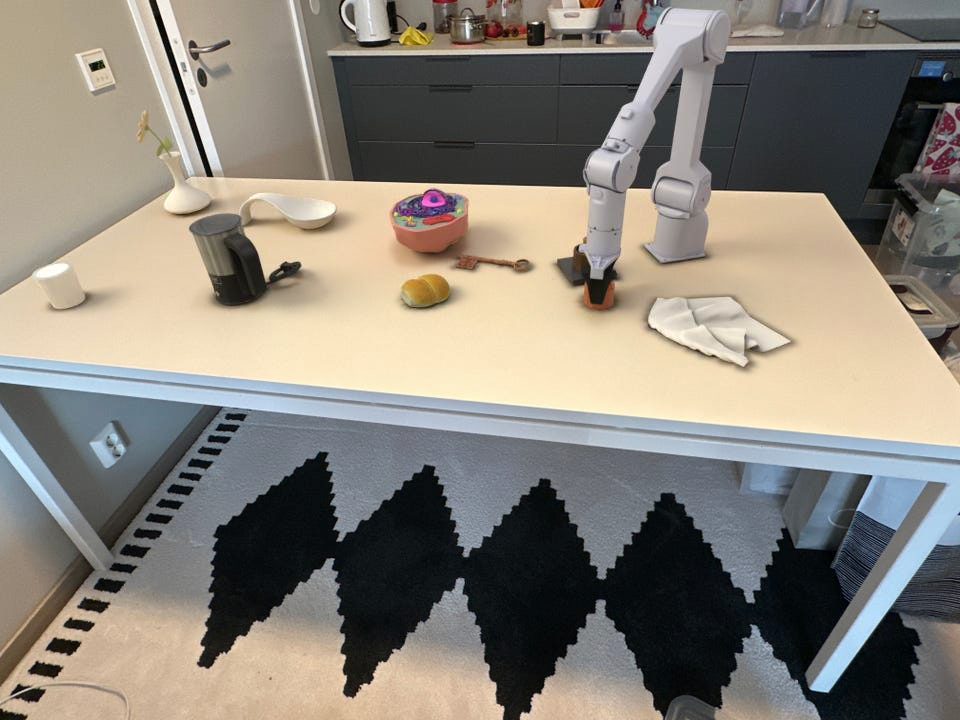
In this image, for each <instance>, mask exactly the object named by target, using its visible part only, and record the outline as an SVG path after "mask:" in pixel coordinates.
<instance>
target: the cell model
mask: <svg viewBox="0 0 960 720" xmlns="http://www.w3.org/2000/svg"><path fill="white" fill-rule="evenodd" d="M469 202H470V200H469V198H468V197H466V196H465V195H463V194H460V193H457V192H444V191H443V190H442V189H439V188H435V187H433V188H432V187H431V188H429V189H427V190H425V191H424V192H423V193H418V194H417V193H416V194H412V195H409V196H407V197H405V198H403V199H401V200H400V201H398V202H395V203H394V204H393V205H392V207H391V209H390V210H389V215H388V216H389V220H390V224H391V226H392V227H391V228H392V229H393V231H394V236H395V239H396V241H397V242H398V243H399V244H400V245H402V246H404V247H405V248H407V249H410V250H412V251H414V252H417V253H433V254H436V253H437V254H438V253H441V252H444V250H446V249H447V248H449V247H450V246H452V245H453V244H455V243H457V242H458V241H460V240H461V239H462V237H464V235H466V233H467V232H468V229H469V205H470V203H469Z"/></svg>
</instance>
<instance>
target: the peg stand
mask: <svg viewBox="0 0 960 720" xmlns="http://www.w3.org/2000/svg"><path fill="white" fill-rule="evenodd" d="M586 242H587V236H584V237H583V238H582V244H586ZM582 254H585V253H582ZM556 265H557V266H558V268H559V269H560V270H561V272H562V274H563V275H564V276H565V278H566V279H567V280H568V282H569V283H570V285H571V286H572V287H575V286H580V285H585V282H586V281H585V279H584V278H583V276H582V272H580V271H577V270H575V269H574V267H573V256H567V257H562V258H557V259H556ZM612 270H615V268H613V269H612ZM617 279H618V272H617V271H616V275H615V277H614V279H613V280H617Z"/></svg>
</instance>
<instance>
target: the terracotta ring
mask: <svg viewBox="0 0 960 720" xmlns="http://www.w3.org/2000/svg"><path fill="white" fill-rule="evenodd" d="M583 285H584V288H583V300H582V301H583V304H585V306H586V307H588V308H589V309H593V310H604V309H609V308H610V307H612V306H613V304H614V300H615V299H614V296H615V290H616V289H615V288H616V283H615V282H614V280H612V281H611V283H610V284H609V286H608V289H607V292H606V296H605V299H604V302H603V304H602V305H599V304H591V303H590V298H589V292H588V287H587V284H586V282H585V284H583Z"/></svg>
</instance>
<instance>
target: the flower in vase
mask: <svg viewBox="0 0 960 720" xmlns="http://www.w3.org/2000/svg"><path fill="white" fill-rule="evenodd" d="M149 115H150V114H149V111H148V110H146V109H143V111H142V112H141V122H138V128H139V130H138V132H137V133H136V138H137V140H136V143H139V144H142V143H143V142H144V140H145V136H146V134H147V132H148V131H149V132H150V133H152V135H153V136H154V137H155V138H156V139H157V141H159V143H160V145H159V146H158V147H157V149H156V157H158V158H159V159H160V160H162V161H163V162H164V163H165V165H167V167H168V169H169V170H170V173H171V175H172V177H173V181H174V187H173V189H172V190H171V192H170V193H169V195H168V196H167V197H166V199H165V200H164V202H163V209H164V210H165V211H167V212H168V213H170V214H177V215H181V214H183V215H184V214H190V213H194V212H197V211H200V210H202V209H205V208H206V207H208V206H209V205H210V204H211V202H212V196H211V195H210V194H209V193H208V192H206V191H204V190H202V189H200V188H197V187H195V186H193V185H191V184H189V183H188V182H187V181H186V179H185V177H184V174H183V172H182V168H181V156H182V152H181V151H170V150H171V149H172V148H173V146H174V144H173V143H172V141H171V140H170V139H169V138H168V137H167V136H164V138H163V140H161V139H160V138H159V136H157V134H156V133H155V132H154V131H153V130H152V129H151V128H150V126H149V117H150V116H149ZM163 150H165V153H162V152H163Z"/></svg>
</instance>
